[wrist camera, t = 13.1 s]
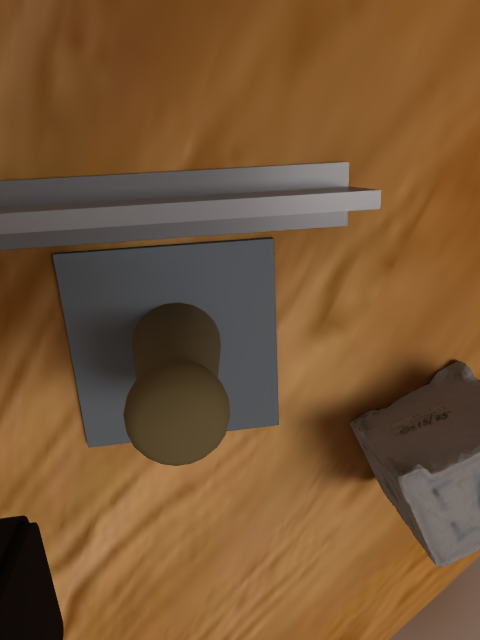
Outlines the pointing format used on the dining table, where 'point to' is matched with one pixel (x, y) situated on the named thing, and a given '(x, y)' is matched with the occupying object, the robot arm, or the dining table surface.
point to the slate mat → (162, 288)
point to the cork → (176, 386)
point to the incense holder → (431, 461)
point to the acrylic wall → (177, 204)
